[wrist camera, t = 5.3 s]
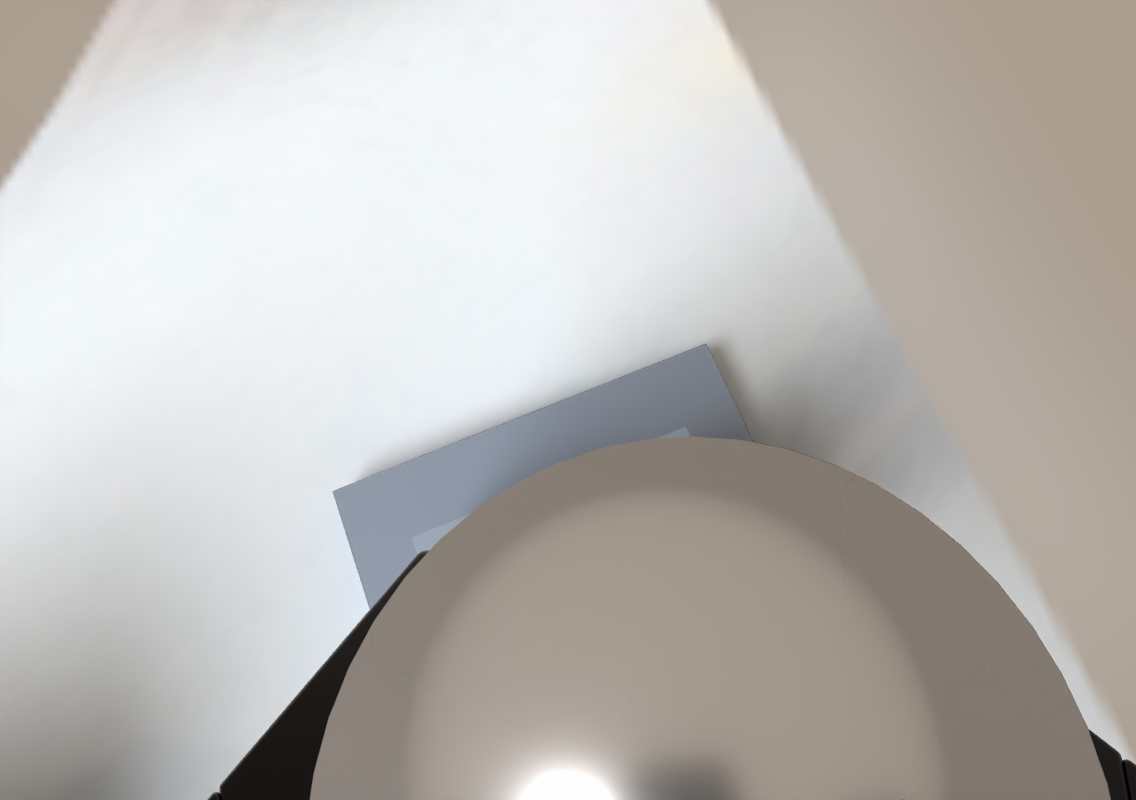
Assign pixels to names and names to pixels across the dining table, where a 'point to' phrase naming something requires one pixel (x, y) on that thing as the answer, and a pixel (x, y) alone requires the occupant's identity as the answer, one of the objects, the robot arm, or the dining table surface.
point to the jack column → (702, 648)
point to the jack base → (526, 458)
